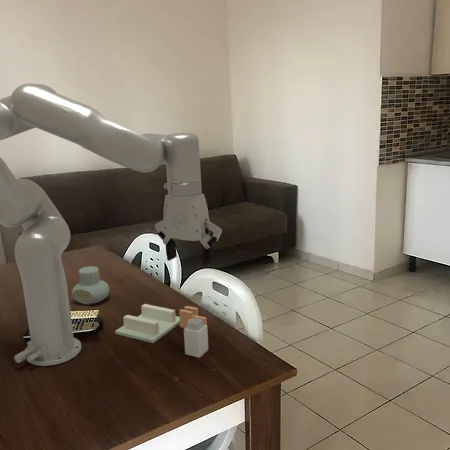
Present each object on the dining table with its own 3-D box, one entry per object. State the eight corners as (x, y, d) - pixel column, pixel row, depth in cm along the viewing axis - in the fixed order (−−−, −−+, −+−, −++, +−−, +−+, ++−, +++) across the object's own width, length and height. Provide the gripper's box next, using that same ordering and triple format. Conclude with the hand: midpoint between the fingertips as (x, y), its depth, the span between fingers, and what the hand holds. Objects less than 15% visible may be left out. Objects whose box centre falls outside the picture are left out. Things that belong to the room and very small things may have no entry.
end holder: (153, 343, 122) (152, 329, 121) (115, 333, 127) (114, 320, 126) (183, 320, 133) (183, 307, 132) (148, 312, 139) (147, 300, 138)
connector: (199, 357, 114) (198, 326, 112) (185, 353, 116) (183, 322, 114) (208, 349, 118) (206, 319, 116) (194, 346, 119) (192, 316, 117)
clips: (200, 340, 122) (199, 323, 121) (171, 333, 126) (170, 316, 125) (215, 327, 129) (214, 311, 128) (187, 321, 133) (186, 305, 132)
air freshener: (115, 297, 151) (112, 266, 148) (99, 308, 143) (96, 275, 141) (84, 293, 154) (81, 263, 152) (68, 303, 147) (64, 272, 144)
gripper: (143, 190, 111) (149, 262, 116) (210, 194, 104) (214, 270, 108) (161, 184, 118) (167, 252, 122) (226, 187, 110) (229, 260, 114)
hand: (189, 261), depth 115 cm, fingers open, 9 cm apart
